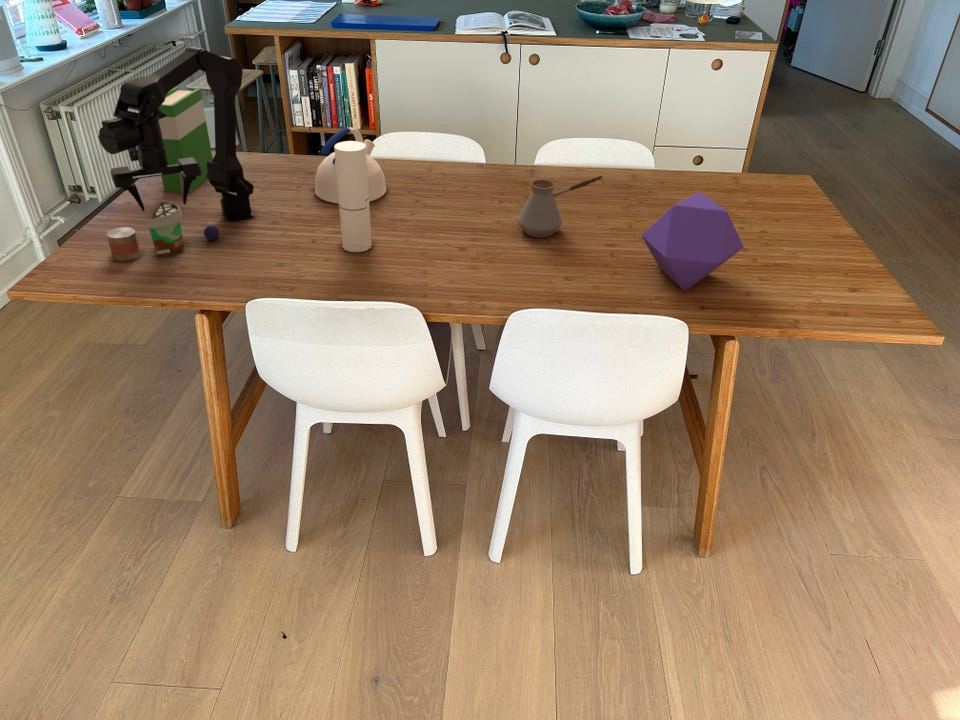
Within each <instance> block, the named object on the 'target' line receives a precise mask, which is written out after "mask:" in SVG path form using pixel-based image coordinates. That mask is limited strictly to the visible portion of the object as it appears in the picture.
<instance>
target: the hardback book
mask: <svg viewBox="0 0 960 720" xmlns="http://www.w3.org/2000/svg"><path fill="white" fill-rule="evenodd" d="M201 90H202V89H201V88H195V89H193V90H180V89H179V87H178V86H176V87H175V88H173V89H172V90H171V91H169V92H168V93H167V94H166V98H165V101H164V102H163V104H162V105H161V106H160V107H159V108H158V109H159V110H160V111H161V112H163V113H165V114H166V115H167V116H166V117H165V118H162V119H159V124H160V128H161V133H162V138H163V142H164V147H165V152H166V156H167V161H168V165H175V164H178V159H183V158H190V157H193V158H194V159H196V161H197V162H198V163H199V165H200V168H201V174H202V175H200V176H196V180H193V181H192V183H191V186H190V188H189V192H188V194H191V193H192V192H193V191H195V189H196V188H198V187H199V186H200V185H201V184H202V183H203V182H204V181H205V180H206V179H208V178H207V162H208V161H210V162H211V161H212V160H213V158H214V156H213V152H212V146H211V142H210V141H211V140H210V136H209V129H208V125H207V118H206V114H205V108H204V103H203V102H204V101H203V96H202V91H201ZM160 177H161V183H162V187H163V190H164V192H170V193H171V192H173V193H181V184H180V177H179V173H174V174H167V175H160Z"/></svg>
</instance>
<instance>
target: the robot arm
mask: <svg viewBox="0 0 960 720" xmlns="http://www.w3.org/2000/svg"><path fill="white" fill-rule="evenodd" d="M199 71H201V72H204V73H205V77H206V83H207V85H208V87H209V89H210V90H211V92H212V95H213V115H214V116H213V117H214V146H215V147H214V151H215V152H214V156H213V160H212V161H211V162H210V161H208V162H207V178H206V179H208V183H209V185H211V186H212V188H213V189H214V191H215V193H219V194H221V198H220V199H219V201H220V207H221V212H222V215H223V216H224V217H225V218H226V219H227V221H229V222H233V221H238V220H244V219H249V218H250V219H251V218H253V217H254V213H253V212H252V209H251V208H252V207H251V203H250V196H251V195H252V194H254V189H255V186H254V184H253V183H252V182H250V181H249V180H247V179H246V178H245V176H244V169H243V165H242V164H241V162H240V160H239V158H238V157H237V128H236V127H237V126H236V125H237V124H236V96H237V94H238V93H239V90H240V89H241V88H242V82H243V73H244V72H243V65H242V64H241V63H240V61H239V60H238V59H236V58H234V57H228V56H223V55H217V54H215V53H212V52H211V51H208V50H206V49H205V48H201V47H196V46H188V47H187V48H185V49H184V50H183V52H182V53H180V54H179V55H177V56H176V57H174V58H173V59H171V60H170V61H169V62H167V63H165V64H164V65H163V66H161V67H160V68H158V69H157V70H155V71H154V72H152V73H151V74H148V75H143V76H139V77H135V78H133V79H130V80H127V81H125V82H123V84H122V85H121V86H120V88H119V89H120V91H119V96H118V99H117V102H116V105H115V108H114V112H113V117H114V118H112V119H105V120H102V121H101V128H100V129H99V131H98V137H97V138H98V141H99V143H100V145H101V147H102V148H103V149H104V151H105V152H107V154H109V155H117V154H120V153H123V152H125V151H127V153H128V154H127V155H128V157H129V160H130V162H137V161H138V165H139V167H140V168H141V169H140V168H139V169H134V170H130V167H129V166H128V165H126V166H118V167H112V168H111V169H110V171H109V173H110V177H111V180H112V183H113V185H114V187H115V188H116V189H117V188H118V189H120V188H121V190H122V191H128V192H129V194H131V196H132V197H133V199H134V200H135V201H136V203H137V204H138V206H139V208H140V209H141V211H142V212H145V206H144V203H143V201H142V198H141V195H140V192H139V189H138V188H137V185H136V183H135V181H134V180H140V179H145V178H146V179H147V178H153V177H159V176H160V177H161V175H167V174H174V173H179V177H180V184H181V192H180V193H181V195H180V196H181V199H182V200H181V201H182V204H183V205H187V201H188V200H187V199H188V195H189V193H188V192H189V188H190V186H191V183H192V181H193V180H196V176H200V175H202V174H201V168H200V165H199V163H198V162H197V161H196V159H194V158H193V157H190V158H183V159H178V164H175V165H168V161H167V156H166V152H165V147H164V142H163V138H162V133H161V128H160V124H159V119H162V118H165V117H166V116H167V115H166V114H165V113H163V112H161V111H160V110H159V109H158V108H159V107H160V106H161V105H162V104H163V102H164V101H165V98H166V94H167V93H168V92H169V91H171V90H172V89H173V88H175V87H178V86H179V85H180V84H182V83H183V82H185V81H186V80H188V79H189V78H190V77H192V76H193V75H194V74H196V73H197V72H199ZM131 110H133V111H131ZM136 111H138V112H136Z"/></svg>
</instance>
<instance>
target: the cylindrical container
mask: <svg viewBox="0 0 960 720" xmlns="http://www.w3.org/2000/svg"><path fill="white" fill-rule="evenodd" d="M333 146H334V148H333V149H334V152H335V161H336V174H337V186H338V198H339V204H338V209H339V221H340V222H339V223H340V232H341V233H340V234H341V245H342V249H343V250H345V251H347V252H349V253H361V252H366V251H368V250H370V249H371V248H372V230H371V226H372V225H371V213H370V212H371V211H370V209H371V208H370V202H369V192H368V174H367V158H366V145H365V144H364V142H363V143H362V142H357V141H356V140H345V141H344V140H343V141H340V142H336V143H335V144H334V145H333Z"/></svg>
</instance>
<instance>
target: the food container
mask: <svg viewBox="0 0 960 720" xmlns="http://www.w3.org/2000/svg"><path fill="white" fill-rule="evenodd" d="M158 202H159V204H158V207H157V208H156V209H155V210H154V211H153V213H152V216H151V218H147V219H146V223H147V229H149V233H150V236H151V240H152V243H153V246H154V249H155V253H156V258H162V257H168V256H172V255H175V254H177V253H180V252H181V251H182V250H184V247H185V243H184V237H183V229H182V221H181V219H182V218H183V212H182V210H181V207H180V206H179V205H178V204H177V203H176V202H174V201H172V200H165V199H159V200H158Z"/></svg>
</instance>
